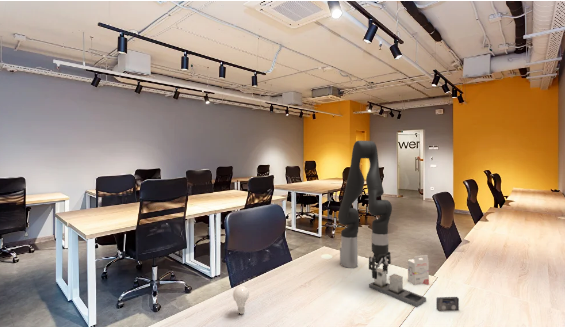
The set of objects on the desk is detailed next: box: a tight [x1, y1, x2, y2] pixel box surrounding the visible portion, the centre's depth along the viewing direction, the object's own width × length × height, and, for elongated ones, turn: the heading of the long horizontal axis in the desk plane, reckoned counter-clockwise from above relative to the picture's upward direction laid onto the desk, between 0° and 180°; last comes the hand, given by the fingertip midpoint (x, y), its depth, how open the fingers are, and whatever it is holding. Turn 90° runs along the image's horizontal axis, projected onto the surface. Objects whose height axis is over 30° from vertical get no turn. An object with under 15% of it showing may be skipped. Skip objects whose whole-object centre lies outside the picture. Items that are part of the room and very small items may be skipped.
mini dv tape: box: [435, 296, 460, 312], centre depth 113 cm, size 8×2×6 cm, turn 92°
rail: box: [368, 281, 427, 308], centre depth 126 cm, size 23×8×2 cm, turn 37°
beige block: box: [388, 273, 404, 295], centre depth 126 cm, size 4×4×8 cm
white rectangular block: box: [373, 267, 388, 288], centre depth 133 cm, size 4×4×8 cm
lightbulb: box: [232, 285, 250, 315], centre depth 113 cm, size 6×6×11 cm
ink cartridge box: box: [407, 254, 430, 286], centre depth 138 cm, size 9×5×15 cm, turn 105°
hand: (379, 276), depth 133 cm, fingers open, 8 cm apart
